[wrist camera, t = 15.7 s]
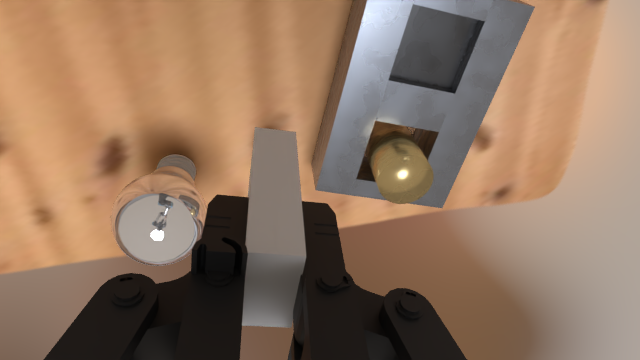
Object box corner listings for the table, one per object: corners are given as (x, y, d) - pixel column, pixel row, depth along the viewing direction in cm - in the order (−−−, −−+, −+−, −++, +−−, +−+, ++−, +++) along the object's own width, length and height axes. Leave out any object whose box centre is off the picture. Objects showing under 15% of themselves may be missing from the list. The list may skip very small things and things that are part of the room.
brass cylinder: (367, 109, 40) (387, 151, 33) (413, 117, 41) (441, 160, 34) (354, 151, 42) (370, 199, 35) (398, 158, 43) (422, 207, 36)
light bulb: (125, 170, 41) (79, 261, 31) (163, 113, 38) (125, 192, 28) (193, 205, 44) (171, 298, 33) (232, 154, 41) (221, 239, 31)
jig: (364, -42, 33) (376, -34, 29) (506, -5, 36) (534, 7, 32) (311, 163, 42) (315, 190, 38) (427, 181, 45) (442, 208, 41)
